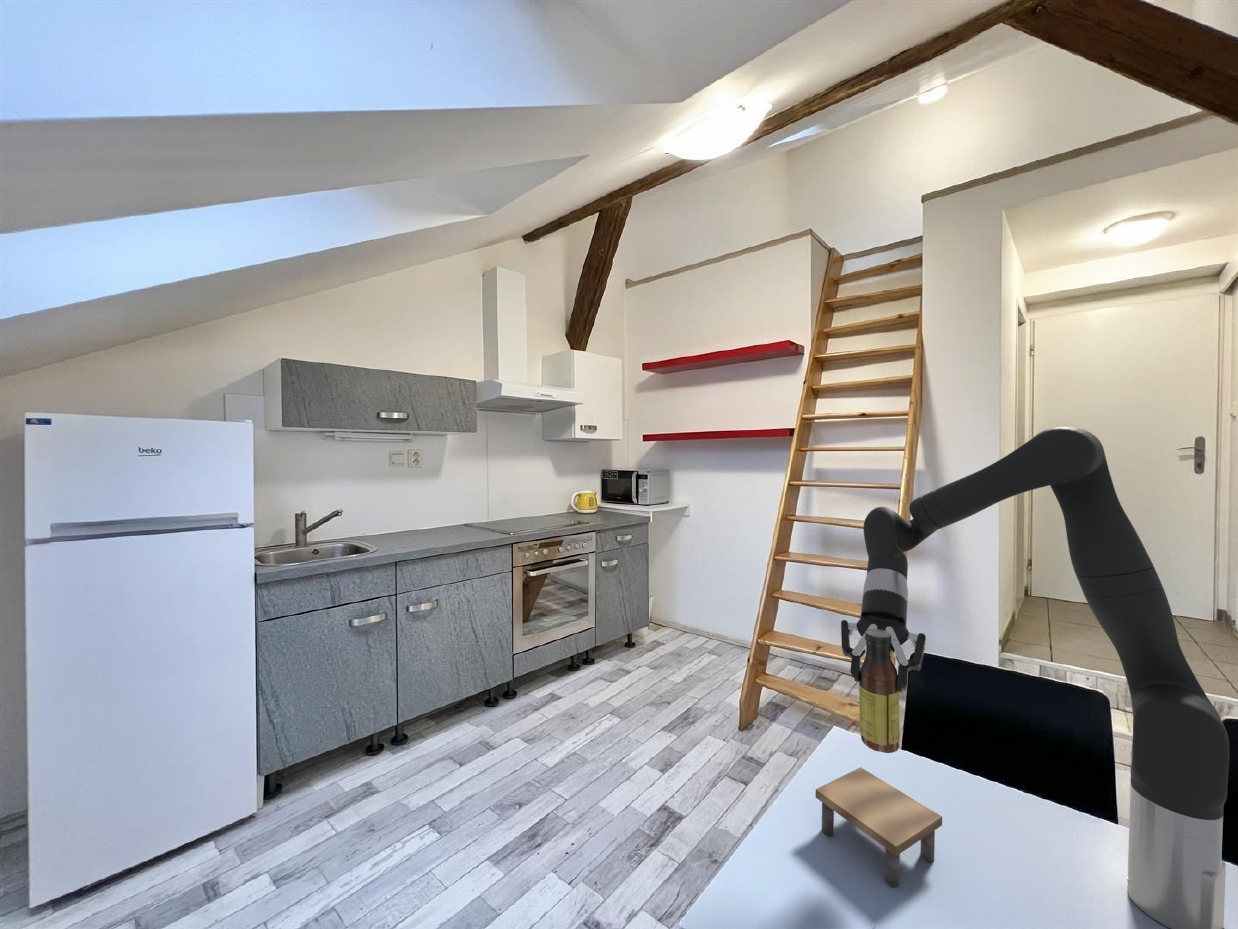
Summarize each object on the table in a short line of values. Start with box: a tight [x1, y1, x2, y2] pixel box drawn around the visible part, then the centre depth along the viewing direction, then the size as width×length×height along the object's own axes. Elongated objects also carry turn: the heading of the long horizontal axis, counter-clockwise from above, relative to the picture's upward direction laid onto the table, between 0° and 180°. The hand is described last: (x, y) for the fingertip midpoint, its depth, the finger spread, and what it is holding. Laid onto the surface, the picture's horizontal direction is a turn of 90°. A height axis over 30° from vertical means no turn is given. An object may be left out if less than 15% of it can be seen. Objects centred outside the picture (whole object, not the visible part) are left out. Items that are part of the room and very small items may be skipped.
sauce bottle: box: [858, 629, 901, 754], centre depth 86 cm, size 7×6×20 cm
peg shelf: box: [815, 766, 943, 889], centre depth 87 cm, size 15×13×8 cm
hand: (877, 684), depth 85 cm, fingers closed on sauce bottle, 6 cm apart
